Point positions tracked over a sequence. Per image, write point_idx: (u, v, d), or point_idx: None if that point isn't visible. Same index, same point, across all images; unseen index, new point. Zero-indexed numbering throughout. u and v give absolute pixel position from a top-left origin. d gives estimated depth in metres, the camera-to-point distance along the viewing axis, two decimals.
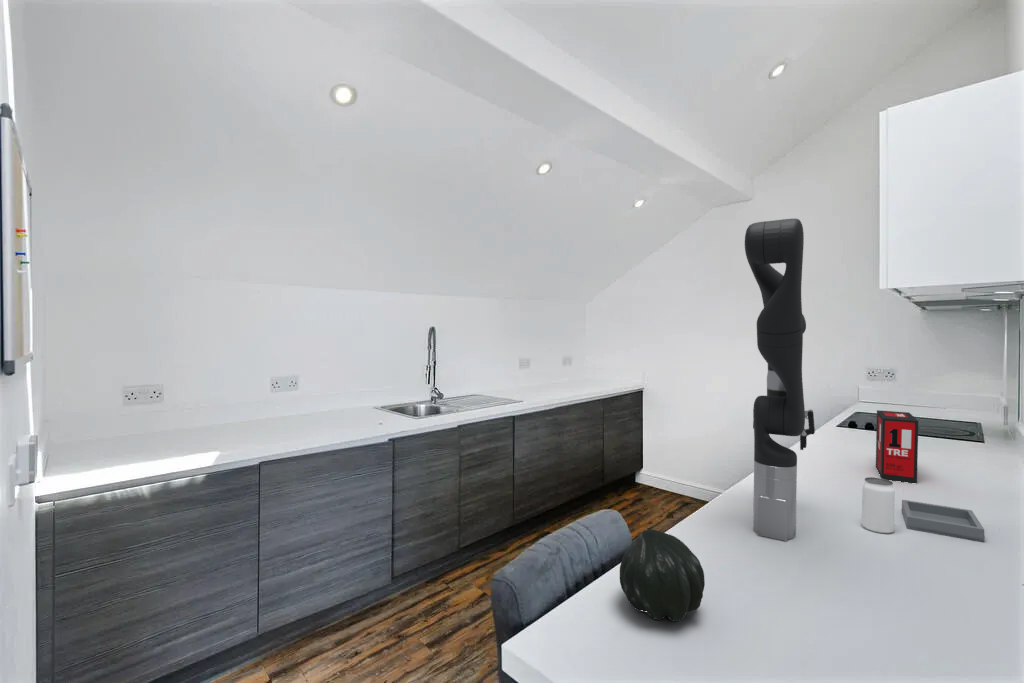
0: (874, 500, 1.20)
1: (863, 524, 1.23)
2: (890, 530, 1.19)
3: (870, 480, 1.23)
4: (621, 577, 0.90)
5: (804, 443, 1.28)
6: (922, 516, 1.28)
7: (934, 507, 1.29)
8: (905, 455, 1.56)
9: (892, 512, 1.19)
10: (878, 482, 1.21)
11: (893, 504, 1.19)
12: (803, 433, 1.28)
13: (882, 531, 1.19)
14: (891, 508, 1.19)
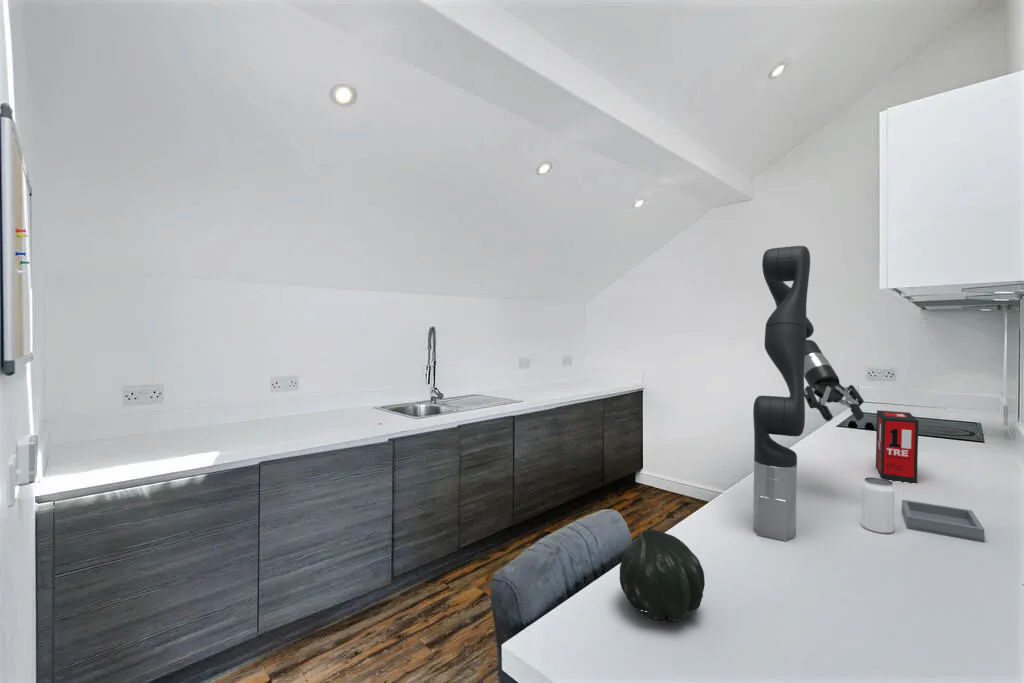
0: (874, 500, 1.20)
1: (863, 524, 1.23)
2: (890, 530, 1.19)
3: (870, 480, 1.23)
4: (621, 577, 0.90)
5: (860, 411, 1.34)
6: (922, 516, 1.28)
7: (934, 507, 1.29)
8: (905, 455, 1.56)
9: (892, 512, 1.19)
10: (878, 482, 1.21)
11: (893, 504, 1.19)
12: (856, 402, 1.35)
13: (882, 531, 1.19)
14: (891, 508, 1.19)
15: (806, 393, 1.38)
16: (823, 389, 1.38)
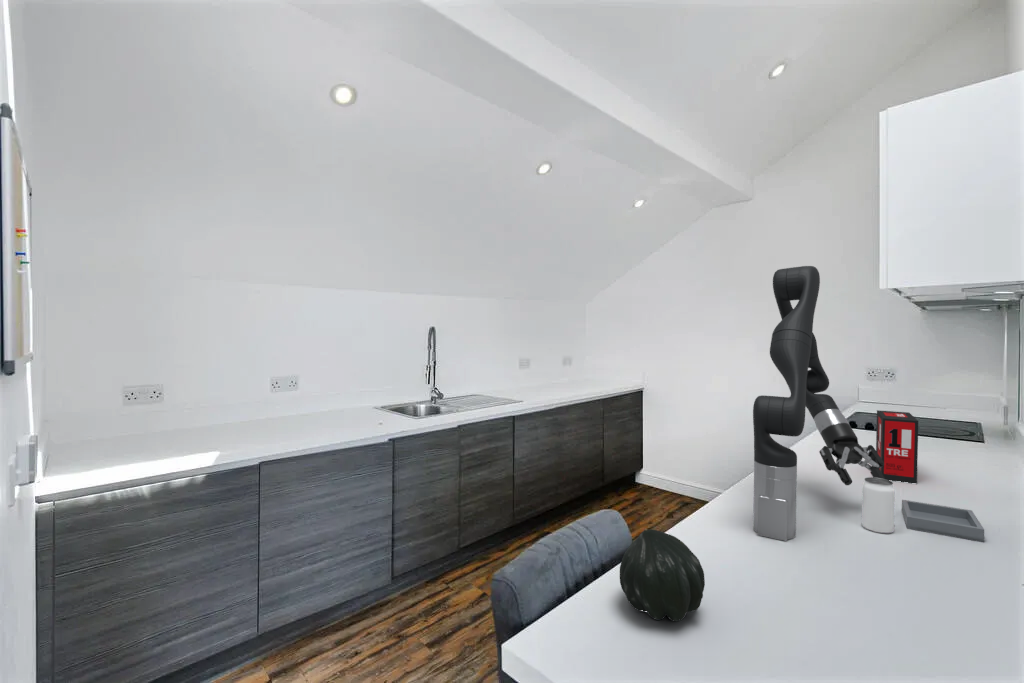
0: (874, 500, 1.20)
1: (863, 524, 1.23)
2: (890, 530, 1.19)
3: (870, 480, 1.23)
4: (621, 577, 0.90)
5: (881, 475, 1.27)
6: (922, 516, 1.28)
7: (934, 507, 1.29)
8: (905, 455, 1.56)
9: (892, 512, 1.19)
10: (878, 482, 1.21)
11: (893, 504, 1.19)
12: (876, 464, 1.28)
13: (882, 531, 1.19)
14: (891, 508, 1.19)
15: (823, 453, 1.32)
16: (841, 449, 1.31)
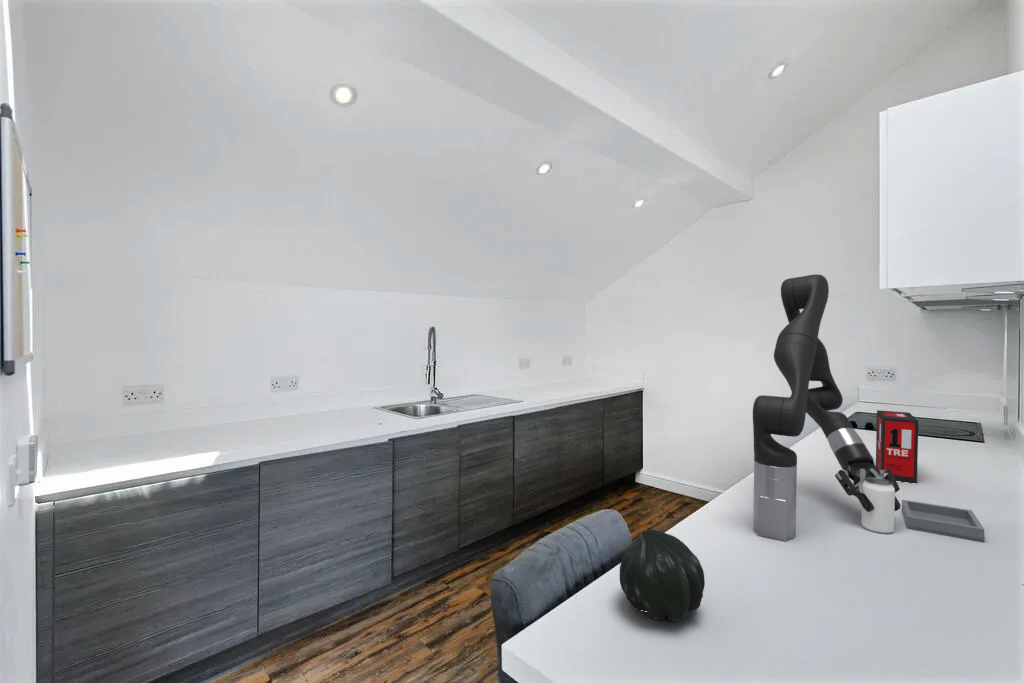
0: (874, 500, 1.20)
1: (863, 524, 1.23)
2: (890, 530, 1.19)
3: (870, 480, 1.23)
4: (621, 577, 0.90)
5: (897, 501, 1.21)
6: (922, 516, 1.28)
7: (934, 507, 1.29)
8: (905, 455, 1.56)
9: (892, 512, 1.19)
10: (878, 482, 1.21)
11: (893, 504, 1.19)
12: None
13: (882, 531, 1.19)
14: (891, 508, 1.19)
15: (840, 478, 1.26)
16: (857, 472, 1.26)
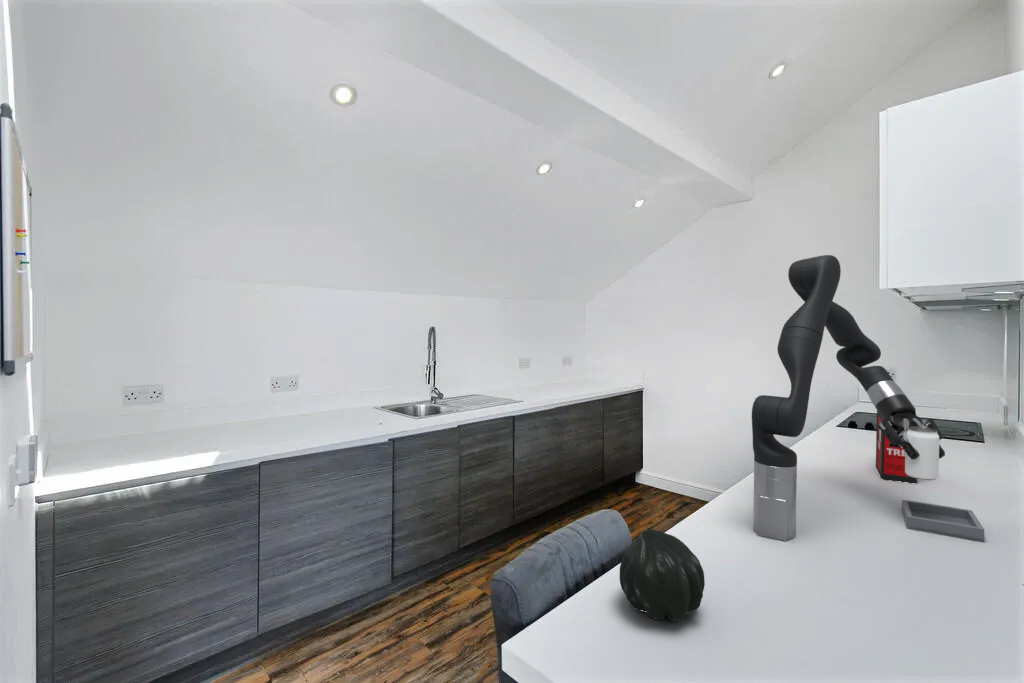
0: (919, 447, 1.21)
1: (907, 472, 1.24)
2: (935, 476, 1.21)
3: (914, 429, 1.25)
4: (621, 577, 0.90)
5: (941, 449, 1.23)
6: (922, 516, 1.28)
7: (934, 507, 1.29)
8: None
9: (937, 459, 1.21)
10: (922, 430, 1.23)
11: (938, 451, 1.21)
12: None
13: (927, 477, 1.21)
14: (936, 454, 1.21)
15: (884, 428, 1.27)
16: (900, 422, 1.27)
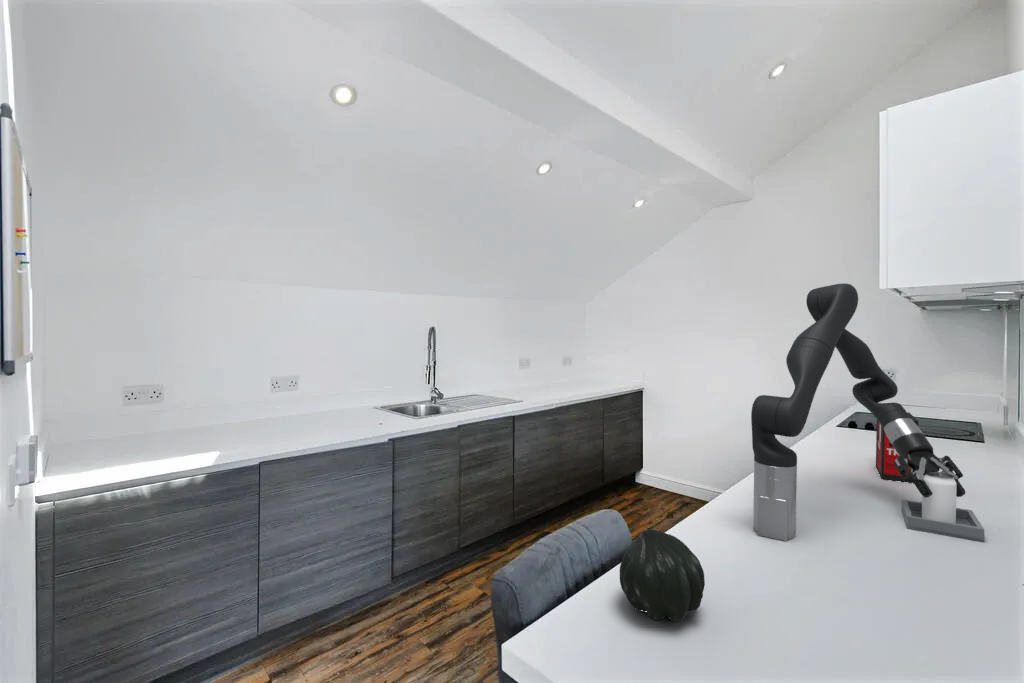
0: (936, 493, 1.22)
1: (924, 517, 1.25)
2: None
3: (930, 474, 1.25)
4: (621, 577, 0.90)
5: (961, 487, 1.23)
6: None
7: None
8: None
9: (954, 505, 1.21)
10: (939, 476, 1.23)
11: (955, 497, 1.21)
12: (955, 476, 1.25)
13: None
14: (953, 501, 1.21)
15: (898, 464, 1.28)
16: (917, 460, 1.28)
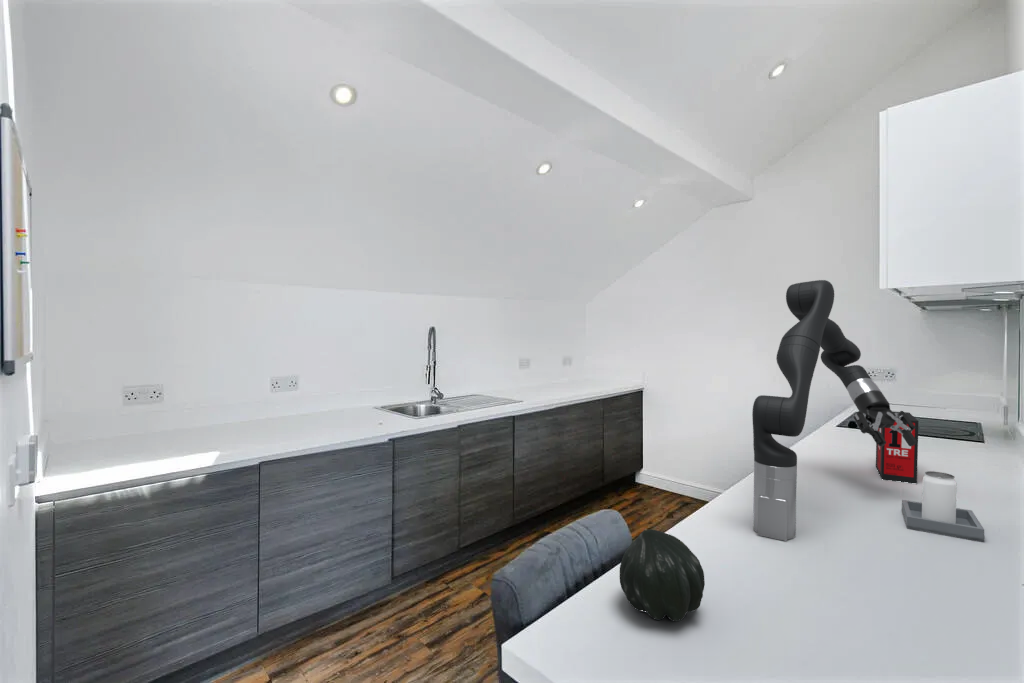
0: (936, 493, 1.22)
1: (924, 517, 1.25)
2: None
3: (930, 474, 1.25)
4: (621, 577, 0.90)
5: None
6: None
7: None
8: (905, 455, 1.56)
9: (954, 505, 1.21)
10: (939, 476, 1.23)
11: (955, 497, 1.21)
12: (908, 428, 1.37)
13: None
14: (954, 501, 1.21)
15: (857, 418, 1.41)
16: (874, 414, 1.40)
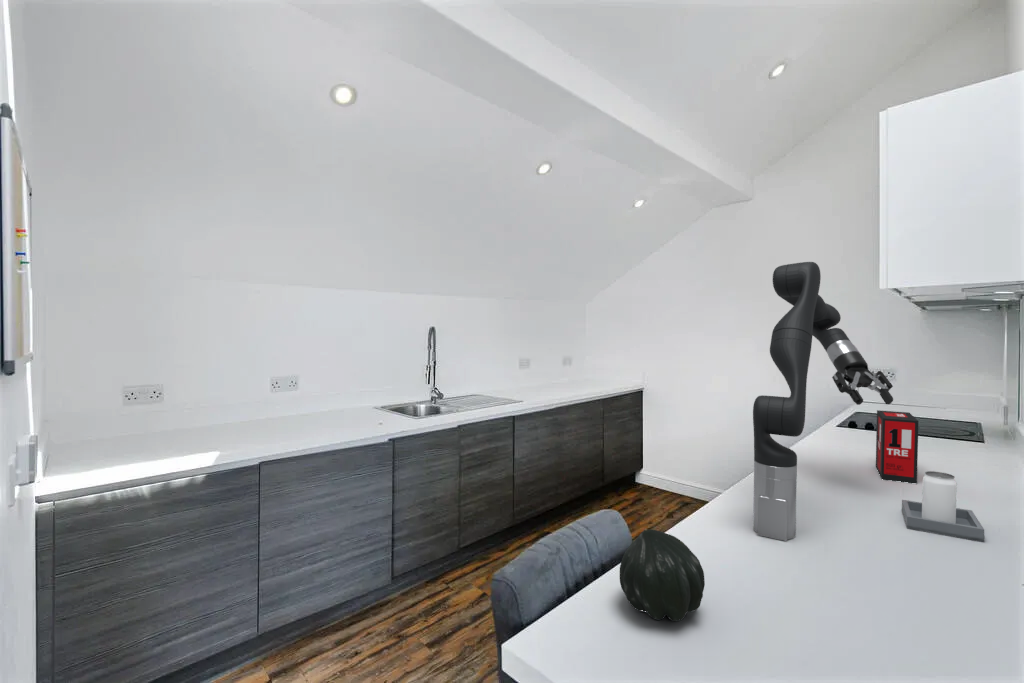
0: (936, 493, 1.22)
1: (924, 517, 1.25)
2: None
3: (930, 474, 1.25)
4: (621, 577, 0.90)
5: (890, 395, 1.38)
6: None
7: None
8: (905, 455, 1.56)
9: (954, 505, 1.21)
10: (939, 476, 1.23)
11: (955, 497, 1.21)
12: (885, 386, 1.39)
13: None
14: (954, 501, 1.21)
15: (836, 378, 1.42)
16: (852, 374, 1.42)
